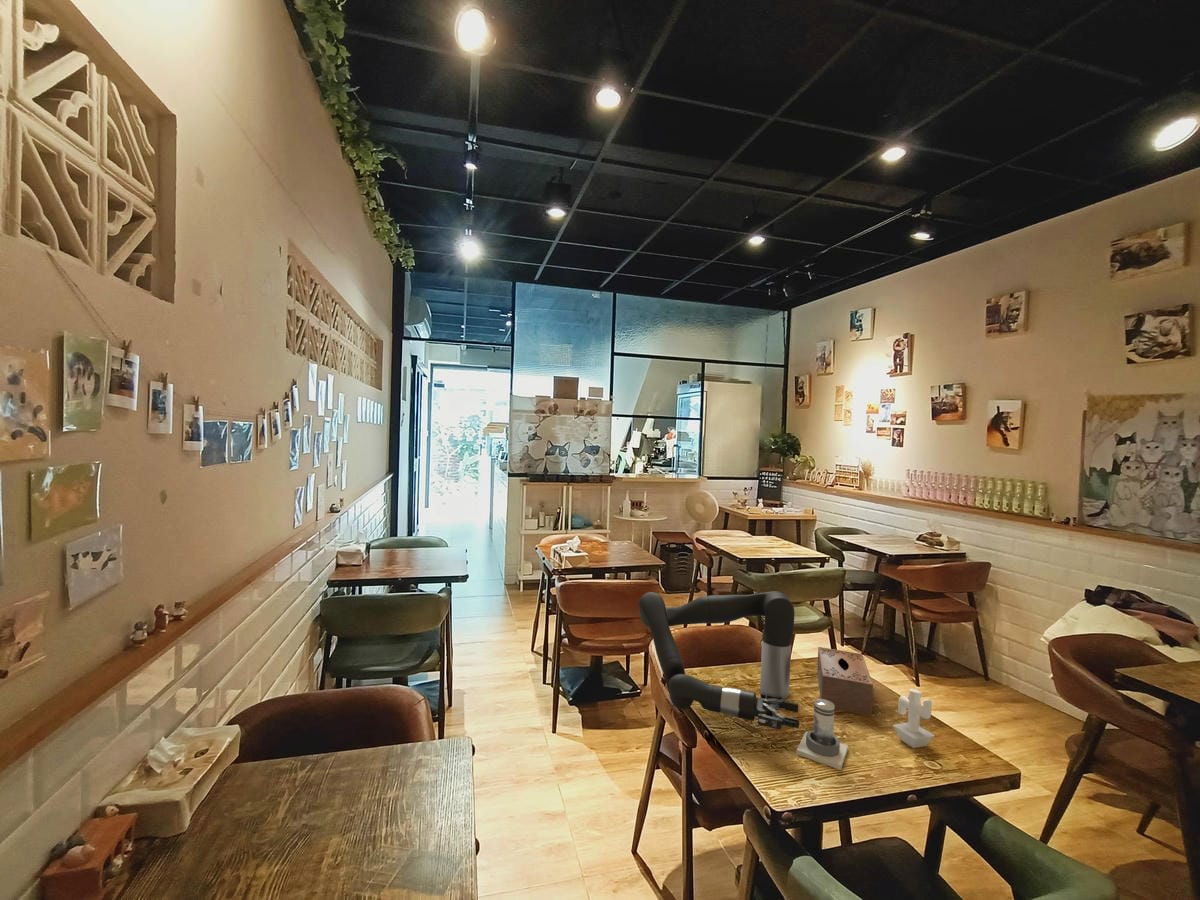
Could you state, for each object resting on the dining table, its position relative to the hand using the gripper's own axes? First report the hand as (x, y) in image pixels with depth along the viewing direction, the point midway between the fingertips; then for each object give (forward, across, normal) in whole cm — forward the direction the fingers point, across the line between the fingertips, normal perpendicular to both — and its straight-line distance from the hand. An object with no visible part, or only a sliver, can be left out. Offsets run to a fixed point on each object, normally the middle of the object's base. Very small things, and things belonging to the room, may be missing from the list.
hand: (798, 715), depth 142 cm
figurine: (+31, -15, -9) cm, 35 cm away
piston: (+6, 0, -7) cm, 9 cm away
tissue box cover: (+15, -40, -9) cm, 44 cm away
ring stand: (+6, 0, -8) cm, 10 cm away
